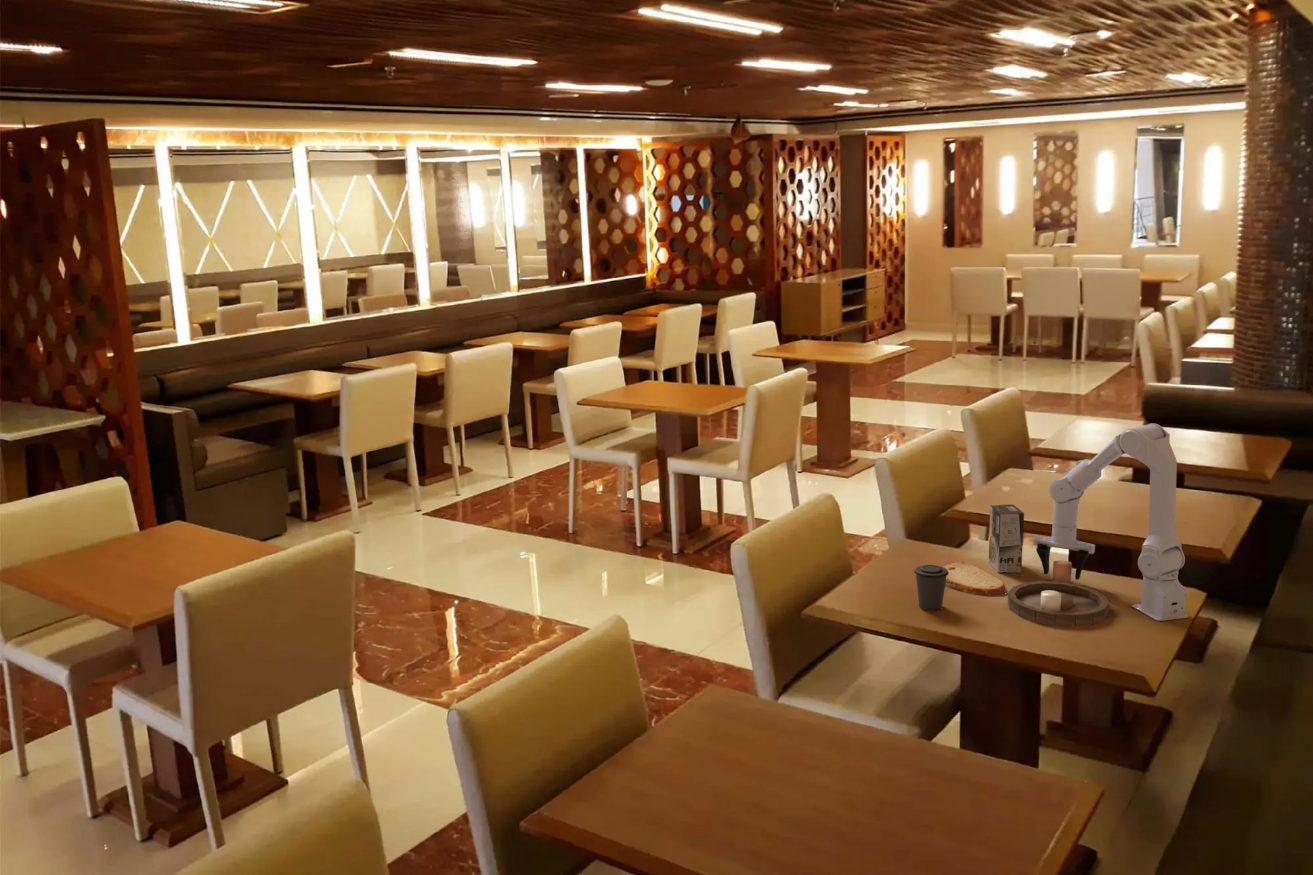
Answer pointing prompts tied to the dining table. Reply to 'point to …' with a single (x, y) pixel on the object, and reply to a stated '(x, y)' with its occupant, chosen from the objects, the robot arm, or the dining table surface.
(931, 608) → the coffee cup
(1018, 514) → the coffee box
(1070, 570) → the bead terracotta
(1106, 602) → the groove tray
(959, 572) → the bread slice
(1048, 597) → the translucent white cylinder
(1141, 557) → the robot arm
